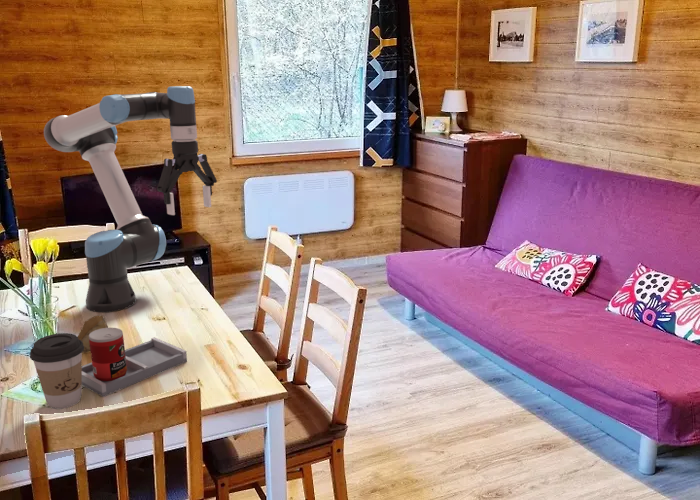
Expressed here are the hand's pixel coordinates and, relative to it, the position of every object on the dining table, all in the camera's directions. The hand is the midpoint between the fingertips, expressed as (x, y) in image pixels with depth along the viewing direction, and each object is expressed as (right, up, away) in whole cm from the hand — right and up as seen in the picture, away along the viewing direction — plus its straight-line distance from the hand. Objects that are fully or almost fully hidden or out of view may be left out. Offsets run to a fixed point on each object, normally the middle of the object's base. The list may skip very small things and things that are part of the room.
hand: (189, 210), depth 198 cm
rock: (-22, -39, -20) cm, 49 cm away
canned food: (-10, -43, -37) cm, 58 cm away
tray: (-7, -43, -33) cm, 54 cm away
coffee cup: (-17, -47, -48) cm, 69 cm away
